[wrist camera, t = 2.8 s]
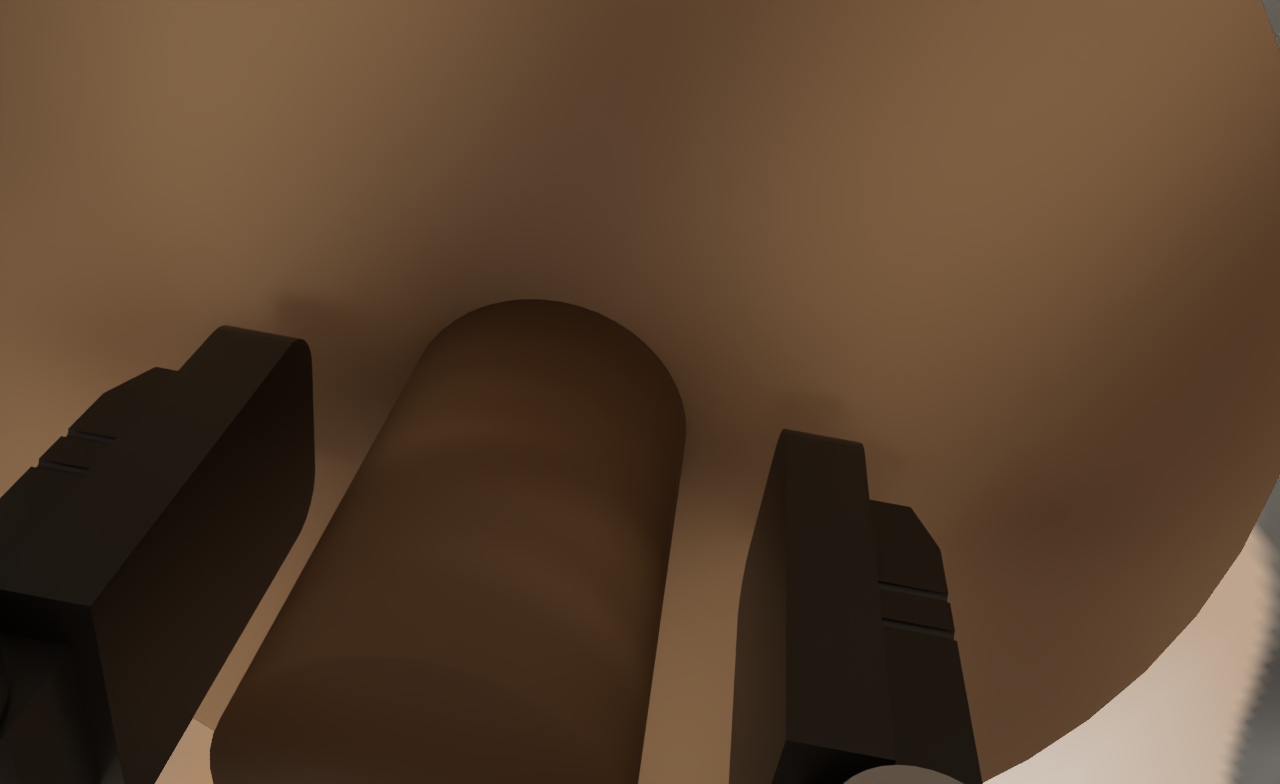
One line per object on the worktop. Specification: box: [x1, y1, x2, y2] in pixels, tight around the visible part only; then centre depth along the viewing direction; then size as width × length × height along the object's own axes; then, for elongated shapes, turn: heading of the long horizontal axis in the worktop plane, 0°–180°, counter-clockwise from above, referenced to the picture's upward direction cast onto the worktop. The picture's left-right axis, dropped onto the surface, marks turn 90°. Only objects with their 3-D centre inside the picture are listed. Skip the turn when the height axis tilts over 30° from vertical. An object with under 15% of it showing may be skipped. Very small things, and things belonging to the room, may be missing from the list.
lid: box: [0, 0, 1280, 784], centre depth 9 cm, size 14×14×6 cm
